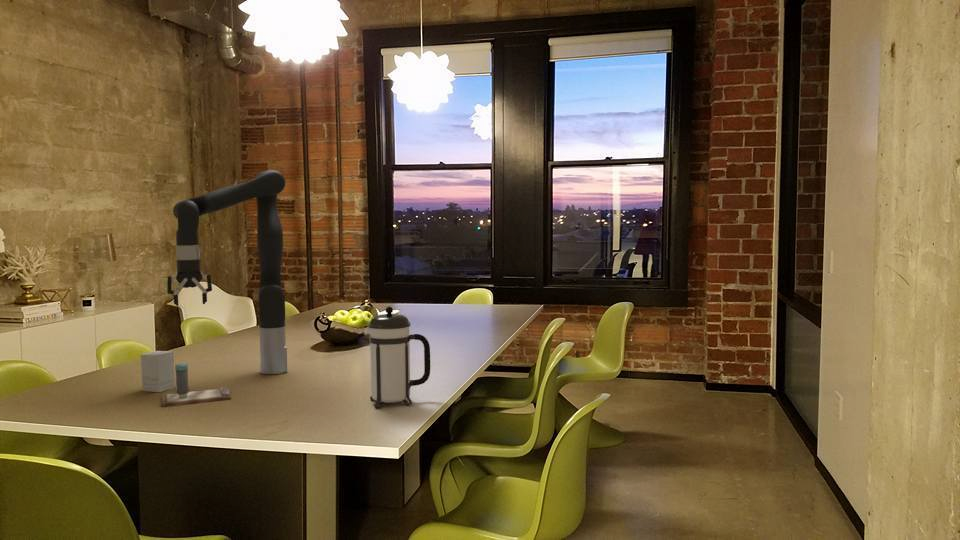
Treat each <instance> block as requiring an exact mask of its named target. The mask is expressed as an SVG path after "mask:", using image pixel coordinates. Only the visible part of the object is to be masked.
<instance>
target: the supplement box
mask: <svg viewBox="0 0 960 540" xmlns="http://www.w3.org/2000/svg"><path fill="white" fill-rule="evenodd" d="M174 360H175V358H174V351H169V350H167V351H166V350H155V351H150V352H146V353H142V354H140V363H141V382H142V383H141V384H142V386H141V387H142V392H151V393H152V392H153V393H161V392H165V391H169V390H172V389H175V388H176V382H175V381H176V377H175V362H174Z"/></svg>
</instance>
